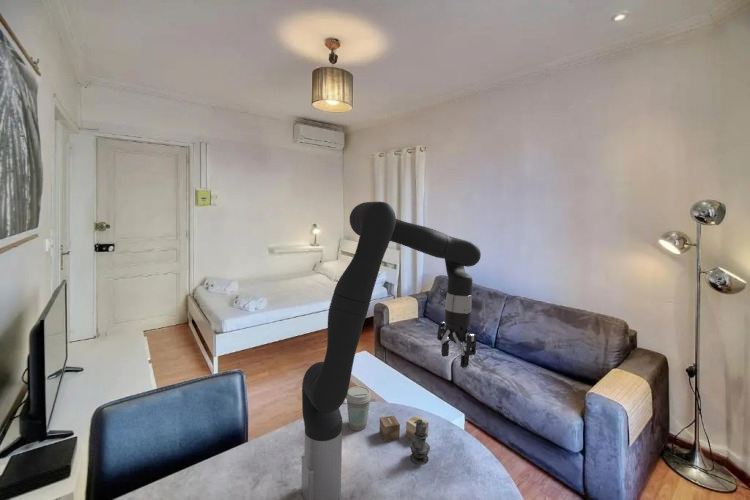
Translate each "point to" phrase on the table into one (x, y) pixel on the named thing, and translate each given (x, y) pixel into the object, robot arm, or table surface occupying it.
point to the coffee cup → (358, 407)
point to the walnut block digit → (389, 428)
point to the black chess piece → (420, 445)
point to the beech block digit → (414, 426)
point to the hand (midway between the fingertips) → (454, 361)
